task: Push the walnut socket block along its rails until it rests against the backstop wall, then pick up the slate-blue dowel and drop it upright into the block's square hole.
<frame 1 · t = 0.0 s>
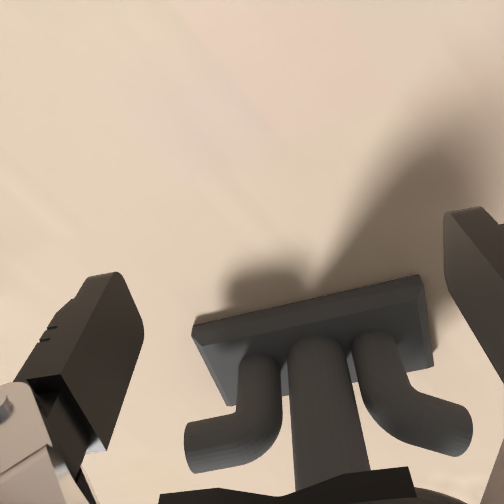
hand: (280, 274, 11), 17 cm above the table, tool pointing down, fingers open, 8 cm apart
faucet: (322, 371, 38), on the table
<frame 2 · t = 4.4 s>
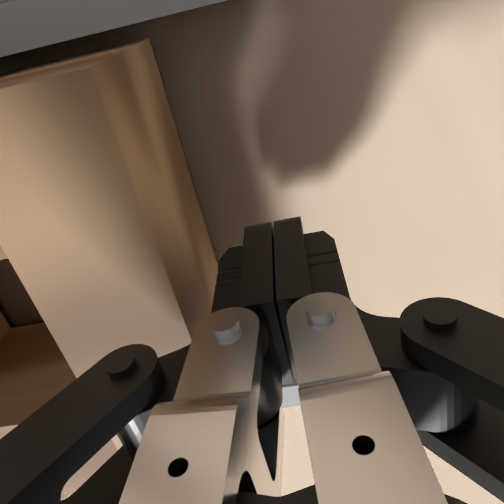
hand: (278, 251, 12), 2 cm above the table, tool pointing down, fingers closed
socket block: (9, 302, 13), point 3 cm above the table, slide at 5.8 cm, touching gripper
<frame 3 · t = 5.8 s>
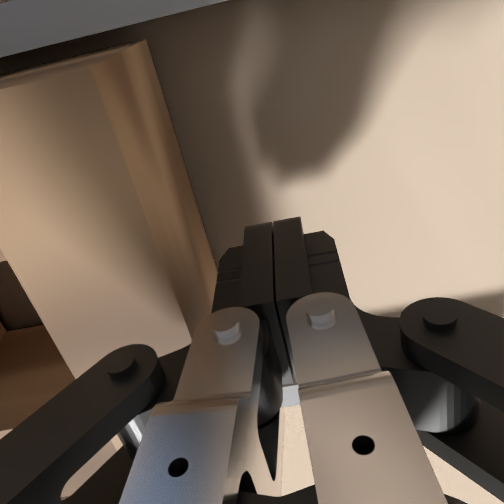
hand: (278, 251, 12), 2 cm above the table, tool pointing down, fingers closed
socket block: (6, 305, 13), point 3 cm above the table, slide at -0.1 cm, touching gripper
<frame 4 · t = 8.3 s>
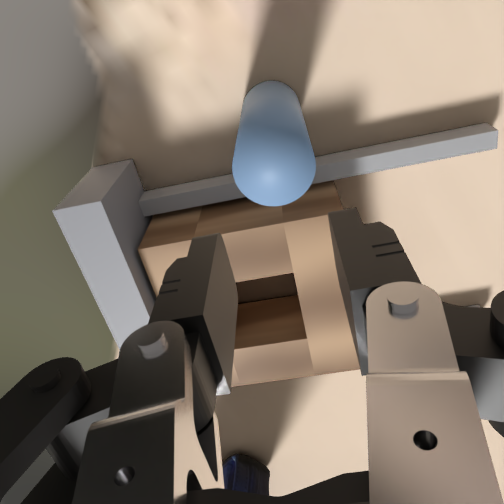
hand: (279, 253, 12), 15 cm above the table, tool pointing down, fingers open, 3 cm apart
socket block: (259, 290, 28), point 3 cm above the table, slide at 0.0 cm
dowel: (271, 110, 25), on the table
book: (217, 490, 44), on the table
backstop: (160, 285, 31), on the table
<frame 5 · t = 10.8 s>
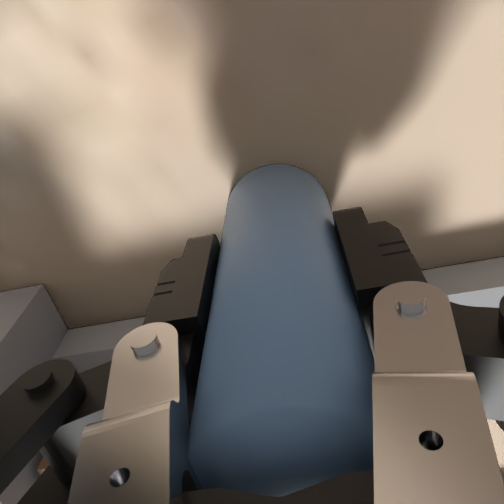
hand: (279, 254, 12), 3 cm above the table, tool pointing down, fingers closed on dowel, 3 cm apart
socket block: (258, 486, 17), point 3 cm above the table, slide at 0.0 cm
dowel: (277, 212, 14), on the table, touching gripper
backstop: (106, 450, 21), on the table
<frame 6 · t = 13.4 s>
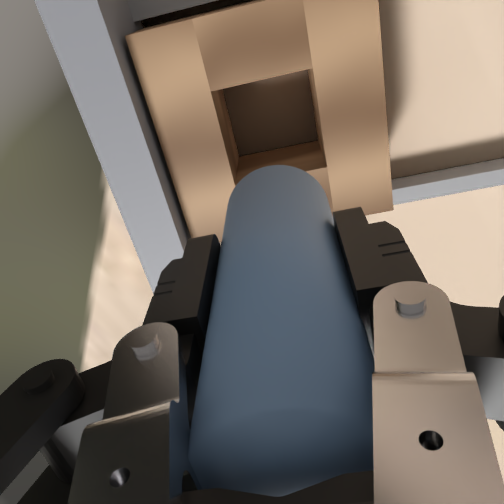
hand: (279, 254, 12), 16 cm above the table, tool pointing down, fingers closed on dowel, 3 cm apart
socket block: (270, 118, 24), point 3 cm above the table, slide at 0.0 cm
dowel: (277, 213, 14), point 14 cm above the table, touching gripper
backstop: (154, 132, 27), on the table
when the fingers open (6 cm above the table, at t = 15.9 s): dowel drops 4 cm, resting in socket block.
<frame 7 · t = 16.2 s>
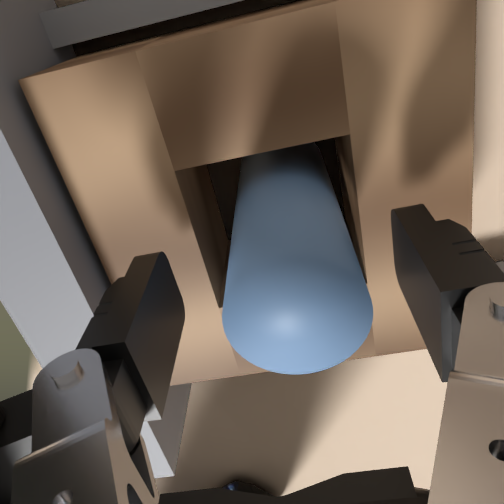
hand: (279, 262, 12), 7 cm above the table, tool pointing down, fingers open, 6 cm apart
socket block: (275, 199, 15), point 3 cm above the table, slide at 0.0 cm
dowel: (281, 170, 17), resting in socket block
backstop: (102, 206, 18), on the table
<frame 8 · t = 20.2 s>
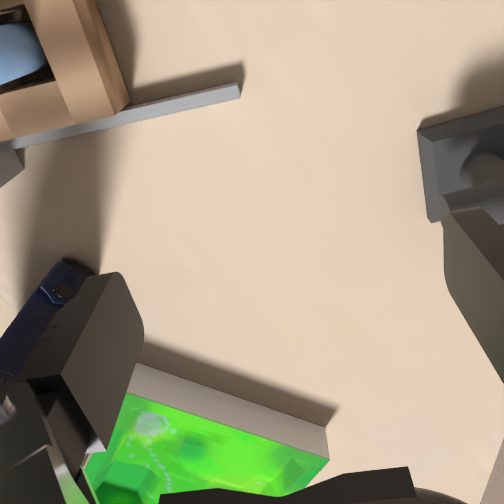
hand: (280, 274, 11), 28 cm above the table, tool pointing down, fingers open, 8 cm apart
socket block: (23, 48, 33), point 3 cm above the table, slide at 0.0 cm
dowel: (42, 42, 35), resting in socket block
book: (61, 307, 48), on the table
tray: (194, 450, 60), on the table
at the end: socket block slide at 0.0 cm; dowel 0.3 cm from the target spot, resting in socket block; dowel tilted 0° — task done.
